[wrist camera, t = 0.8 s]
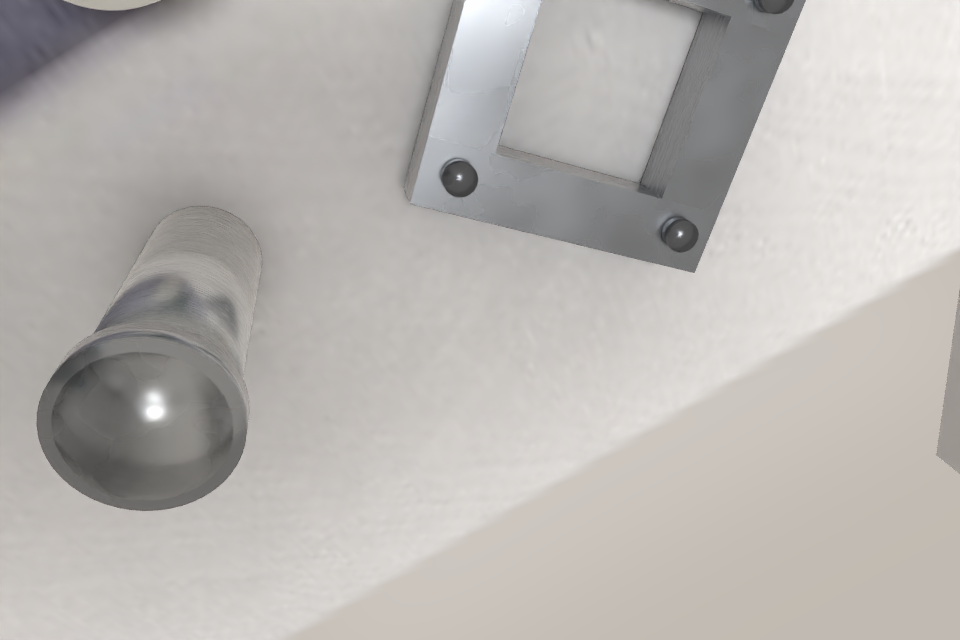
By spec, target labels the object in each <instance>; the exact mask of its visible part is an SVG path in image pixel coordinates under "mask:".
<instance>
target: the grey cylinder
mask: <svg viewBox="0 0 960 640" xmlns="http://www.w3.org/2000/svg"><path fill="white" fill-rule="evenodd" d="M261 266H262V256H261V250H260V247H259V244H258V242H257V239H256V237H255V236H254V234H253V233H252V231H251V230H250V229H249V227H248V226H247V225H246V224H245V223H244V222H243V221H241V220H240V219H239V218H237V217H236V216H234V215H232V214H231V213H229V212H226V211H224V210H221V209H218V208H214V207H208V206H195V207H188V208H184V209H181V210H178V211H176V212H174V213H172V214H170V215H169V216H167V217H166V218H164V219H163V220H162V221H161V222H160V223H159V224H158V226H157V227H156V228H155V230H154V231H153V233H152V235H151V236H150V238H149V240H148V242H147V243H146V245H145V247H144V248H143V250H142V252H141V254H140V255H139V257H138V259H137V260H136V262H135V264H134V266H133V267H132V269H131V271H130V272H129V274H128V276H127V278H126V279H125V281H124V283H123V284H122V286H121V288H120V290H119V291H118V293H117V295H116V296H115V298H114V300H113V302H112V303H111V305H110V307H109V308H108V310H107V312H106V314H105V315H104V317H103V319H102V320H101V322H100V324H99V326H98V327H97V329H96V331H95V332H94V334H93V335H91V336H89V337H87V338H86V339H84V340H83V341H81V342H80V343H78V344H77V345H76V346H75V347H74V348H73V349H72V350H71V351H70V352H69V353H68V354H67V355H66V357H65V358H64V359H63V360H62V362H61V363H60V365H59V366H58V368H57V370H56V371H55V373H54V374H53V376H52V378H51V379H50V381H49V383H48V384H47V386H46V388H45V389H44V391H43V394H42V396H41V399H40V402H39V406H38V411H37V431H38V437H39V441H40V444H41V447H42V449H43V452H44V454H45V456H46V458H47V459H48V461H49V462H50V464H51V466H52V467H53V468H54V470H55V471H56V472H57V473H58V474H59V475H60V476H61V477H62V478H63V479H64V480H65V481H66V482H67V483H68V484H69V485H71V486H72V487H73V488H75V489H76V490H78V491H79V492H81V493H82V494H84V495H86V496H88V497H90V498H92V499H94V500H96V501H99V502H101V503H104V504H107V505H110V506H114V507H117V508H123V509H129V510H140V511H153V510H163V509H170V508H174V507H178V506H182V505H185V504H188V503H191V502H193V501H196V500H198V499H200V498H202V497H204V496H205V495H207V494H208V493H210V492H211V491H213V490H215V489H216V488H217V487H218V486H219V485H220V484H222V483H223V482H224V481H225V480H226V479H227V477H228V476H229V475H230V474H231V473H232V471H233V470H234V468H235V467H236V465H237V464H238V462H239V460H240V457H241V455H242V453H243V449H244V446H245V441H246V434H247V427H248V420H249V397H248V392H247V389H246V385H245V382H244V380H243V375H244V369H245V363H246V357H247V351H248V345H249V339H250V333H251V327H252V321H253V315H254V309H255V303H256V297H257V291H258V285H259V279H260V273H261Z"/></svg>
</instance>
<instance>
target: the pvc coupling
mask: <svg viewBox="0 0 960 640" xmlns="http://www.w3.org/2000/svg"><path fill="white" fill-rule="evenodd" d="M64 1H67V2H69V3H72V4H75V5H78V6H82V7H87V8H91V9H98V10H109V11H112V10H127V9H133V8H138V7H142V6H146V5H149V4H152V3H155V2H158V1H160V0H64Z"/></svg>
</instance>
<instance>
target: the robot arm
mask: <svg viewBox="0 0 960 640" xmlns="http://www.w3.org/2000/svg"><path fill="white" fill-rule="evenodd" d="M937 456H938V457H939V458H941V459H942V460H943V461H944V462H946V463H947V464H948V465H950V466H951V467H952V468H953V469H954V470H956V471H957V472H958V473H959V474H960V291H959V298H958V306H957V312H956V320H955V326H954V333H953V340H952V347H951V355H950V362H949V369H948V376H947V384H946V390H945V397H944V404H943V412H942V419H941V426H940V432H939V440H938V447H937Z"/></svg>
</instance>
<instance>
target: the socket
mask: <svg viewBox="0 0 960 640" xmlns="http://www.w3.org/2000/svg"><path fill="white" fill-rule="evenodd" d="M668 1H670V2H673V3H676V4H679V5H682V6H685V7H688V8H691V9H694V10H697V11H699V12H702V13H703V15H702V18H701V21H700V23H699V26H698V29H697V32H696V34H695V37H694V40H693V42H692V45H691V48H690V51H689V53H688V56H687V59H686V61H685V64H684V67H683V69H682V72H681V75H680V78H679V80H678V83H677V86H676V88H675V91H674V94H673V97H672V99H671V102H670V105H669V107H668V110H667V113H666V116H665V118H664V121H663V124H662V126H661V129H660V132H659V135H658V137H657V140H656V143H655V145H654V148H653V151H652V153H651V156H650V159H649V162H648V164H647V167H646V170H645V172H644V175H643V178H642V181H641V183H640V184H639V183H635V182H632V181H628V180H624V179H621V178H617V177H613V176H610V175H606V174H602V173H598V172H595V171H591V170H587V169H584V168H580V167H576V166H573V165H569V164H565V163H562V162H558V161H554V160H551V159H547V158H543V157H540V156H536V155H532V154H529V153H525V152H521V151H518V150H514V149H510V148H506V147H503V146H499V145H498V144H499V141H500V137H501V134H502V131H503V127H504V124H505V121H506V117H507V114H508V111H509V107H510V104H511V101H512V98H513V94H514V91H515V88H516V84H517V81H518V78H519V74H520V71H521V68H522V64H523V61H524V58H525V55H526V51H527V48H528V45H529V41H530V38H531V35H532V31H533V28H534V25H535V21H536V18H537V15H538V12H539V8H540V5H541V2H542V0H454V1H453V4H452V8H451V12H450V16H449V19H448V23H447V27H446V31H445V34H444V38H443V42H442V46H441V49H440V53H439V57H438V61H437V64H436V68H435V72H434V76H433V79H432V83H431V87H430V91H429V94H428V98H427V102H426V106H425V109H424V113H423V117H422V121H421V124H420V128H419V132H418V136H417V139H416V143H415V147H414V151H413V154H412V158H411V162H410V165H409V169H408V173H407V177H406V180H405V184H404V190H405V193H406V195H407V198H408V200H409V203H410V204H413V205H417V206H421V207H425V208H429V209H433V210H437V211H441V212H446V213H450V214H454V215H458V216H462V217H466V218H470V219H474V220H478V221H483V222H487V223H491V224H495V225H499V226H503V227H507V228H511V229H516V230H520V231H524V232H528V233H532V234H536V235H540V236H544V237H549V238H553V239H557V240H561V241H565V242H569V243H573V244H577V245H582V246H586V247H590V248H594V249H598V250H602V251H606V252H610V253H614V254H619V255H623V256H627V257H631V258H635V259H639V260H643V261H647V262H652V263H656V264H660V265H664V266H668V267H672V268H676V269H680V270H685V271H689V272H693V273H695V270H696V268H697V265H698V263H699V261H700V258H701V256H702V253H703V251H704V248H705V246H706V243H707V241H708V238H709V236H710V234H711V231H712V229H713V226H714V224H715V221H716V219H717V216H718V214H719V212H720V209H721V207H722V204H723V202H724V199H725V197H726V194H727V192H728V189H729V187H730V185H731V182H732V180H733V177H734V175H735V172H736V170H737V167H738V165H739V163H740V160H741V158H742V155H743V153H744V150H745V148H746V145H747V143H748V140H749V138H750V136H751V133H752V131H753V128H754V126H755V123H756V121H757V118H758V116H759V114H760V111H761V109H762V106H763V104H764V101H765V99H766V96H767V94H768V91H769V89H770V87H771V84H772V82H773V79H774V77H775V74H776V72H777V69H778V67H779V65H780V62H781V60H782V57H783V55H784V52H785V50H786V47H787V45H788V42H789V40H790V38H791V35H792V33H793V30H794V28H795V25H796V23H797V20H798V18H799V16H800V13H801V11H802V8H803V6H804V3H805V1H806V0H668Z"/></svg>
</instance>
